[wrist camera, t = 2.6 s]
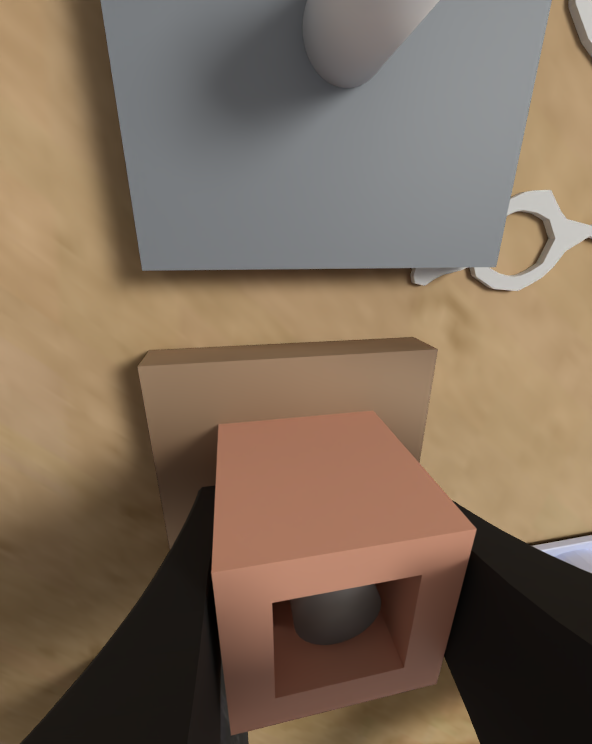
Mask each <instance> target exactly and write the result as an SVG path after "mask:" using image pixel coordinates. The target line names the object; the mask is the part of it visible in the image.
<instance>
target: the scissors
mask: <svg viewBox="0 0 592 744" xmlns="http://www.w3.org/2000/svg"><path fill="white" fill-rule="evenodd" d="M568 8H569V11H570V13H571V16H572V19H573V22H574V24H575V27H576V30H577V33H578V36H579V38H580V41H581V43H582V45H583V46H584V47H585V49H586V50H587V52H588V53H589V54H590V56H591V57H592V0H569V7H568ZM516 211H521V212H527V213H531V214H533V215H535V216H537V217H538V218H540V219H542V220H543V223H544V226H545V229H546V232H547V236H548V241H547V243H546V245H545V247H544V249H543V251H542V253H541V255H540V257H539V259H538V261H537V263H535V264H534V265H532V266H531V267H529V268H528V269H526V270H525V271H523V272H520V273H518V274H516V275H511V276H507V275H503V274H499V273H498V272H496V271H494V270H492V269H490V267H470V272H471V276H472V277H474V278H475V279H477V280H478V281H480V282H481V283H482V284H484V285H485V286H487V287H488V288H491V289H500V290H512V291H518V290H520V289H523V288H525V287H527V286H529V285H530V284H532V283H534V282H535V281H537V280H539V279H540V278H542V277H543V276H544V275H545V274H546V273H547V272H548V271H550V270H551V269H552V268H553V267H554V266H555V264H556V263H557V262H558V260H559V259H560V258H561V256H562V255H563V254H564V253H565V251H567V250H568V249H570V248H571V247H573V246H575V245H576V244H578V243H580V242H581V241H583V240H585V239H586V238H591V239H592V225H587V224H583V223H580V222H576V221H572V220H568V219H566V217H565V216H564V215H563V213H562V212H561V210H560V208H559V206H558V204H557V202H556V200H555V198H554V196H553V193H552V191H551V190H536V191H528V192H522V193H518V194H516V195H514V196H512V197H511V198H510V203H509V207H508V212H507V215H509V214H511V213H513V212H516ZM465 268H468V267H457V268H412V271H411V275H410V276H411V282H412V283H415V284H419V285H424V286H425V285H427V284H428V283H430V282H431V281H432V280H434V279H435V278H438V277H440V276H442V275H444V274H448V273H452V272H456V271H460V270H463V269H465Z"/></svg>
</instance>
